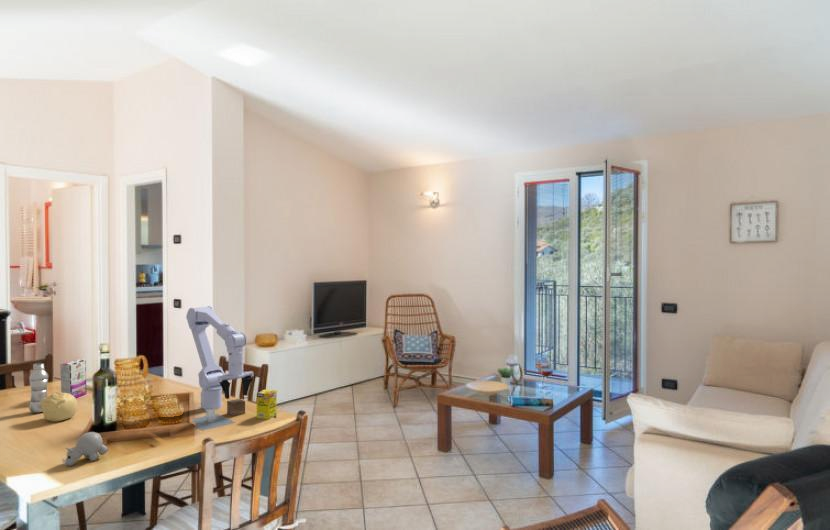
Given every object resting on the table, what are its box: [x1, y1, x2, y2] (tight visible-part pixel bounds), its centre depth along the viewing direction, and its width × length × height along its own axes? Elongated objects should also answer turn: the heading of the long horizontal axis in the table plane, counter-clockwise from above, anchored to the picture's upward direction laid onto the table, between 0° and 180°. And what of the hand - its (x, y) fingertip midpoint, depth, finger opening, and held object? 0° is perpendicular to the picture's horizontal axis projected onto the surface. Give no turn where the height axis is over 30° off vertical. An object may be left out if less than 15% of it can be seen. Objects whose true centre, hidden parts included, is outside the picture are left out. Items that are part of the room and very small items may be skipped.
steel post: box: [205, 407, 216, 423], centre depth 205 cm, size 3×3×5 cm
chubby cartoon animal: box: [61, 431, 109, 467], centre depth 168 cm, size 7×12×8 cm, turn 143°
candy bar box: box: [59, 358, 88, 399], centre depth 244 cm, size 11×5×16 cm, turn 179°
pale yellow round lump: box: [40, 391, 79, 423], centre depth 211 cm, size 11×12×11 cm
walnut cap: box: [226, 398, 246, 417], centre depth 216 cm, size 5×5×6 cm
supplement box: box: [256, 389, 278, 420], centre depth 212 cm, size 6×6×11 cm
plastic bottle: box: [28, 362, 49, 414], centre depth 220 cm, size 6×7×20 cm
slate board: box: [193, 413, 236, 431], centre depth 205 cm, size 16×13×1 cm
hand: (236, 396), depth 216 cm, fingers open, 7 cm apart
